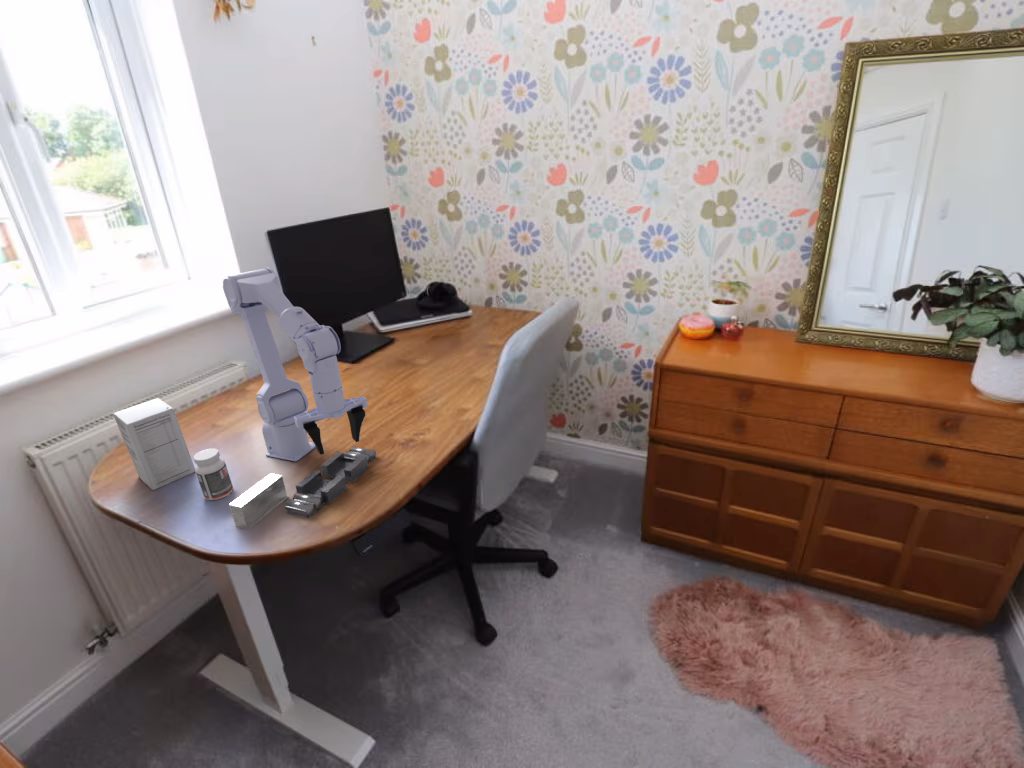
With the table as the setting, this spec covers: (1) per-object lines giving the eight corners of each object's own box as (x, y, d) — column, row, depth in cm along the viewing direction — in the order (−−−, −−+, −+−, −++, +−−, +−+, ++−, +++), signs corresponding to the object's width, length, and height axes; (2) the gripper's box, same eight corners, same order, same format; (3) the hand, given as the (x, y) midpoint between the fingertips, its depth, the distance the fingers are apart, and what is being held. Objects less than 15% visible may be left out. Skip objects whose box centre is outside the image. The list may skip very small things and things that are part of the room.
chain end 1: (281, 511, 107) (278, 499, 106) (317, 481, 117) (314, 470, 115) (313, 519, 105) (310, 506, 104) (347, 487, 114) (344, 476, 113)
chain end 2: (322, 476, 118) (320, 465, 117) (352, 451, 128) (350, 440, 127) (352, 482, 116) (350, 471, 115) (380, 456, 125) (378, 445, 124)
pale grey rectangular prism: (236, 527, 104) (228, 504, 101) (276, 494, 113) (270, 473, 111) (247, 530, 103) (240, 507, 100) (287, 497, 112) (282, 475, 110)
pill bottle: (238, 484, 117) (226, 446, 113) (226, 500, 112) (213, 460, 108) (212, 486, 117) (199, 447, 113) (199, 501, 112) (185, 462, 107)
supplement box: (181, 458, 128) (159, 396, 121) (197, 471, 122) (175, 406, 115) (136, 477, 121) (111, 412, 114) (151, 491, 116) (125, 424, 109)
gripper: (296, 405, 99) (310, 466, 104) (369, 383, 107) (378, 441, 112) (285, 393, 104) (299, 452, 110) (355, 373, 112) (365, 429, 117)
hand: (338, 446), depth 111 cm, fingers open, 7 cm apart
